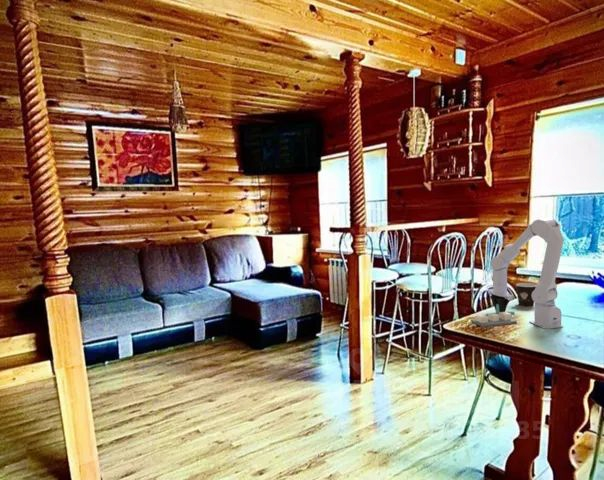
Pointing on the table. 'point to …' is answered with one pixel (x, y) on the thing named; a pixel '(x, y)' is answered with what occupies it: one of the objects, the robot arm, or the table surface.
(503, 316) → the display stand
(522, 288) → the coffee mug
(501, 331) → the table surface
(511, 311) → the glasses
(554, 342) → the table surface
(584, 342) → the table surface
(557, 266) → the robot arm
